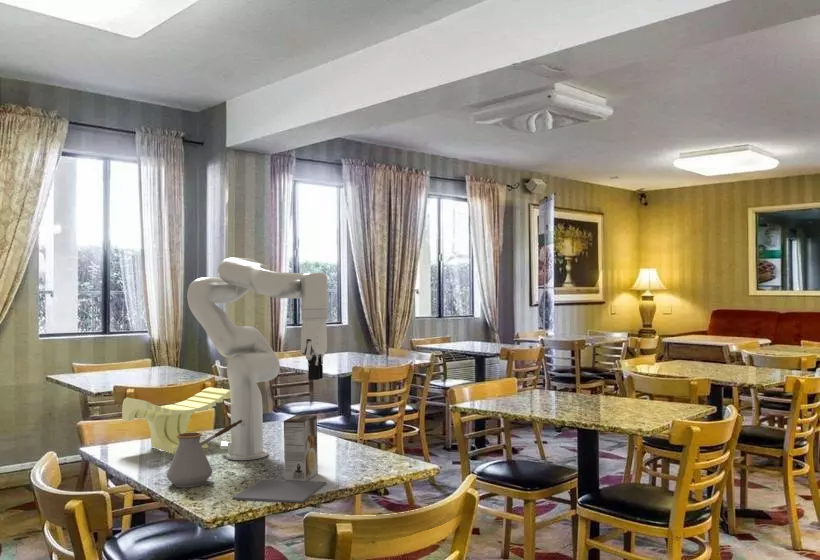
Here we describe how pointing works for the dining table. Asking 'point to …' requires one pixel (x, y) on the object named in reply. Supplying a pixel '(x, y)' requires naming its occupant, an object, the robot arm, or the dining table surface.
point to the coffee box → (300, 447)
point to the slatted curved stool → (171, 416)
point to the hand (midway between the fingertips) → (315, 378)
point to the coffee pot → (192, 459)
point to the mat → (280, 490)
